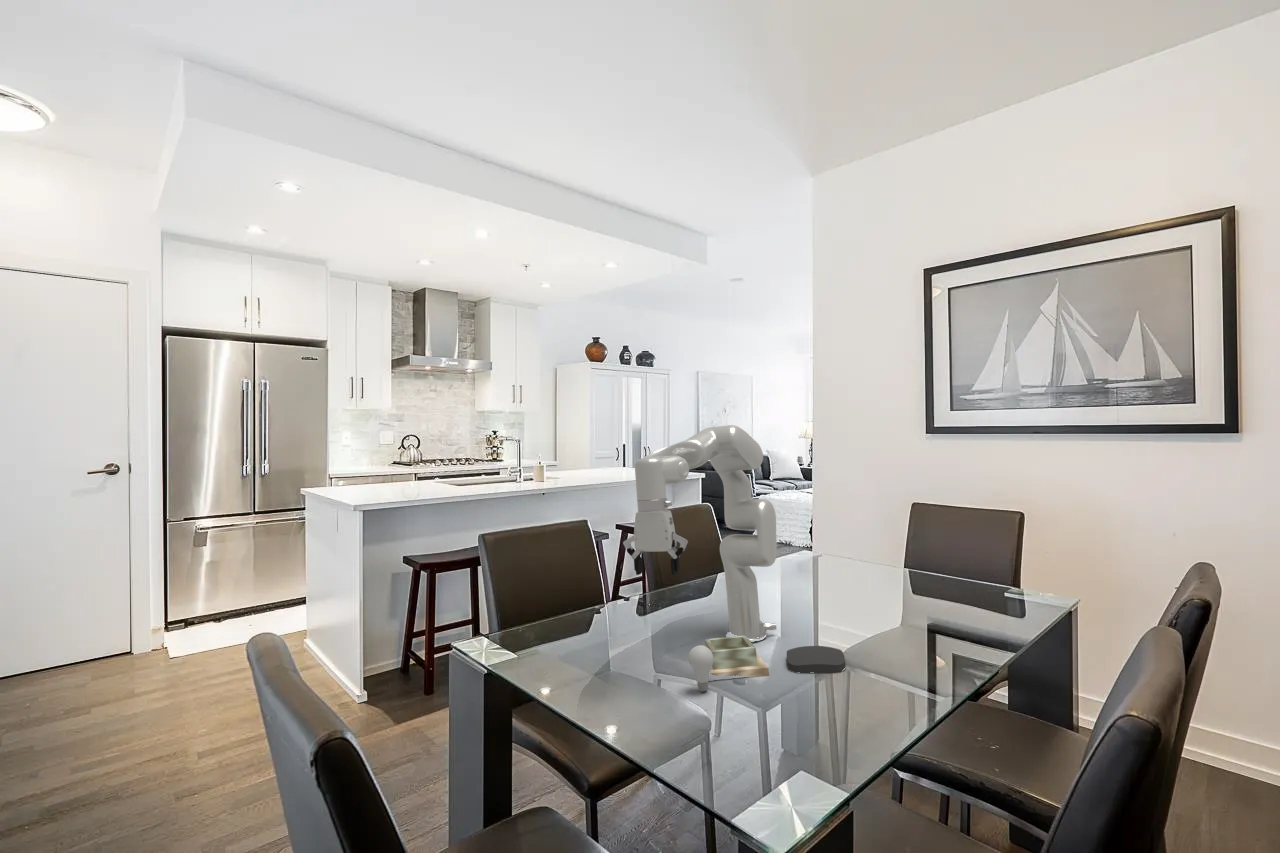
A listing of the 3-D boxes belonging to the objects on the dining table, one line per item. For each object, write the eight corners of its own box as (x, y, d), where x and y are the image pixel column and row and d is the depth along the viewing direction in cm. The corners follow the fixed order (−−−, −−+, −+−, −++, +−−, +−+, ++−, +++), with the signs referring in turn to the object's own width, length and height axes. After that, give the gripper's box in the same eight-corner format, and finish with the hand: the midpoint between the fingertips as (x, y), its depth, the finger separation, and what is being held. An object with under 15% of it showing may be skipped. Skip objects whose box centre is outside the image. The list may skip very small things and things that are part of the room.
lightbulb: (696, 698, 147) (692, 651, 148) (687, 689, 153) (684, 644, 153) (720, 693, 149) (716, 647, 149) (710, 685, 155) (707, 640, 155)
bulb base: (753, 655, 174) (751, 632, 174) (769, 675, 158) (766, 649, 158) (697, 661, 173) (695, 637, 173) (707, 681, 157) (705, 655, 157)
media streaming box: (848, 674, 155) (847, 662, 156) (788, 675, 158) (787, 663, 158) (841, 655, 170) (840, 644, 170) (786, 656, 173) (785, 645, 173)
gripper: (689, 503, 158) (694, 571, 157) (627, 506, 165) (631, 571, 164) (679, 506, 151) (684, 577, 150) (615, 509, 158) (620, 576, 157)
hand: (657, 573), depth 157 cm, fingers open, 9 cm apart
